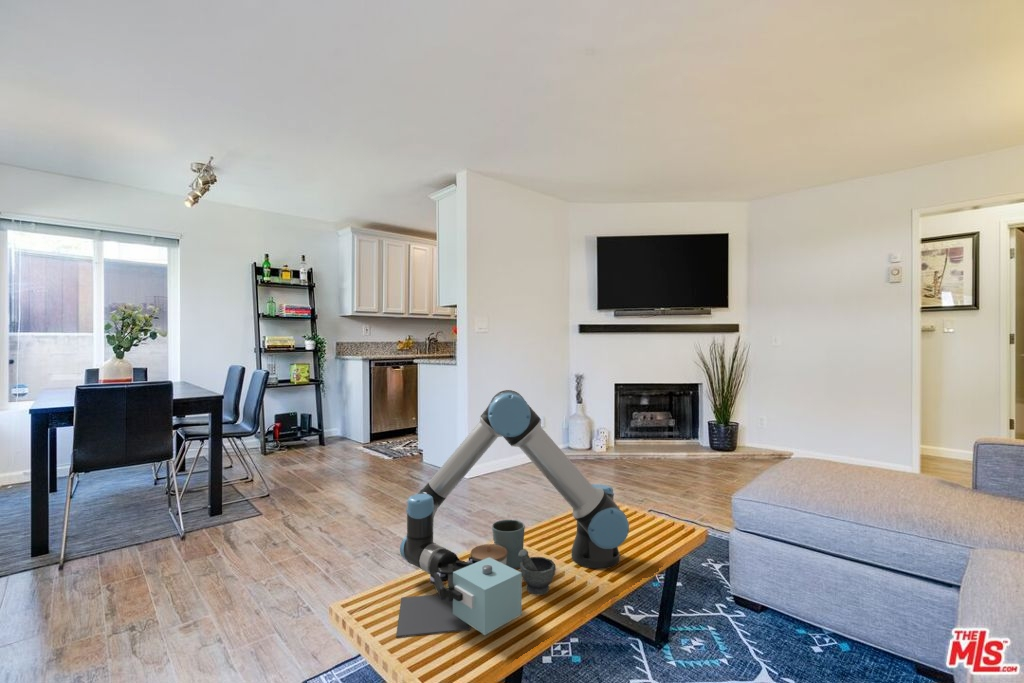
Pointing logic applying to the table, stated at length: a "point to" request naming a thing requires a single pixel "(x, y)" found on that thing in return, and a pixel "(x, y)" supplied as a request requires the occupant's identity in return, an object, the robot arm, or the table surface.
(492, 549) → the lidded jar
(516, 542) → the grey green cylindrical pot
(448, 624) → the rubber mat
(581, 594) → the table surface
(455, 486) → the robot arm
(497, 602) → the cover tub
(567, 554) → the table surface
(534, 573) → the mortar and pestle
